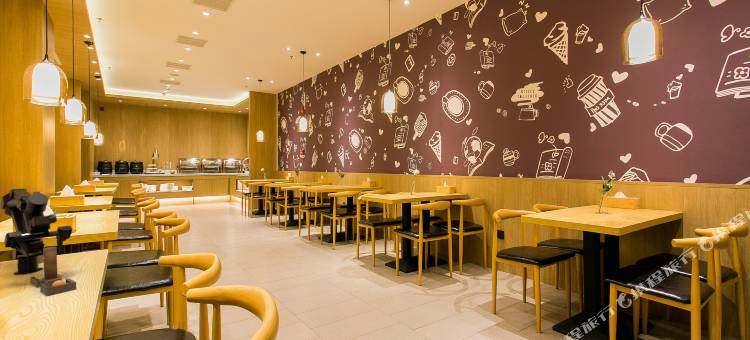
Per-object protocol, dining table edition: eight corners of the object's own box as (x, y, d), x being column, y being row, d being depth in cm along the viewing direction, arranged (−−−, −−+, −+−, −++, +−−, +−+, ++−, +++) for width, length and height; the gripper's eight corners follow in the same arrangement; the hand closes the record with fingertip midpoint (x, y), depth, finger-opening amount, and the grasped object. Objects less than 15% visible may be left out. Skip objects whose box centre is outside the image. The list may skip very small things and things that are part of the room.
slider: (41, 284, 133) (40, 248, 133) (56, 281, 136) (55, 246, 136) (46, 288, 130) (44, 250, 129) (61, 284, 133) (60, 248, 133)
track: (30, 283, 137) (30, 277, 136) (54, 278, 142) (54, 272, 142) (36, 287, 132) (36, 281, 132) (61, 282, 137) (61, 276, 137)
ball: (60, 293, 127) (57, 292, 129) (69, 283, 129) (66, 283, 131) (50, 288, 125) (47, 287, 127) (59, 278, 127) (56, 277, 129)
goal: (40, 291, 127) (40, 284, 127) (69, 285, 134) (69, 278, 134) (46, 296, 123) (46, 288, 123) (76, 289, 130) (76, 282, 130)
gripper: (5, 210, 132) (13, 245, 126) (70, 205, 147) (80, 236, 141) (0, 230, 137) (8, 264, 131) (64, 222, 152) (74, 253, 146)
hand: (44, 253), depth 137 cm, fingers open, 9 cm apart
